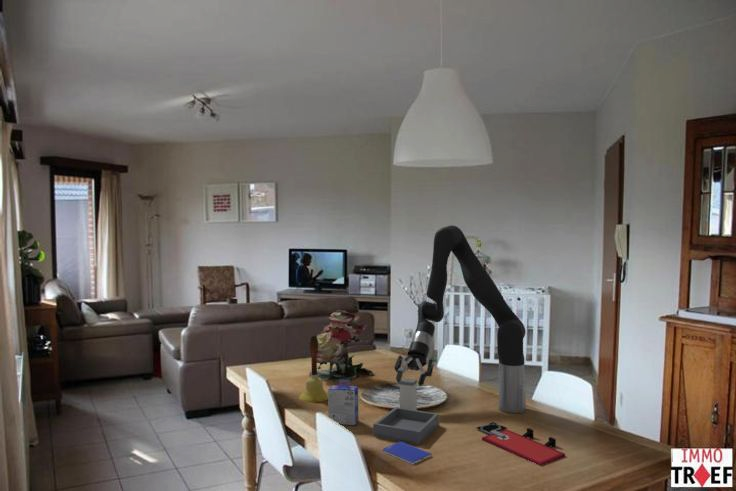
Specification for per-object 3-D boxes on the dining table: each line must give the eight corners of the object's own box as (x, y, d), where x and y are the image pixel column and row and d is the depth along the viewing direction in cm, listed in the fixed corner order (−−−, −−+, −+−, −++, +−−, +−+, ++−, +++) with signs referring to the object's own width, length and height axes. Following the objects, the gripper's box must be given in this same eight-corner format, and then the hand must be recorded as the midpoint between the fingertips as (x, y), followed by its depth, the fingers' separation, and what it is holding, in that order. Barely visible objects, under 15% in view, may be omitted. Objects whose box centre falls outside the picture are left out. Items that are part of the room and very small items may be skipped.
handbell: (326, 391, 222) (325, 331, 221) (333, 400, 210) (332, 337, 209) (296, 394, 218) (295, 333, 217) (302, 403, 207) (301, 339, 206)
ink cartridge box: (359, 420, 188) (358, 379, 188) (355, 425, 183) (355, 384, 182) (332, 418, 190) (331, 378, 190) (327, 424, 185) (327, 382, 184)
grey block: (416, 412, 196) (416, 379, 195) (412, 415, 192) (412, 382, 192) (404, 410, 198) (404, 378, 198) (400, 413, 194) (399, 381, 194)
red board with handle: (496, 423, 184) (465, 433, 176) (496, 415, 184) (465, 425, 176) (572, 455, 159) (540, 469, 151) (573, 445, 159) (540, 459, 151)
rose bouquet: (330, 364, 265) (330, 304, 264) (379, 373, 248) (378, 309, 247) (295, 376, 245) (294, 311, 244) (345, 387, 228) (344, 317, 227)
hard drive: (382, 448, 162) (413, 461, 152) (401, 440, 167) (431, 452, 158) (382, 453, 162) (413, 466, 153) (401, 445, 167) (431, 458, 158)
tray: (438, 425, 183) (438, 413, 182) (419, 444, 166) (419, 432, 166) (395, 418, 190) (395, 407, 190) (373, 436, 174) (373, 424, 173)
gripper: (400, 338, 206) (388, 375, 196) (435, 342, 200) (424, 380, 190) (405, 349, 211) (394, 386, 201) (440, 353, 205) (429, 391, 195)
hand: (408, 383), depth 196 cm, fingers open, 8 cm apart
